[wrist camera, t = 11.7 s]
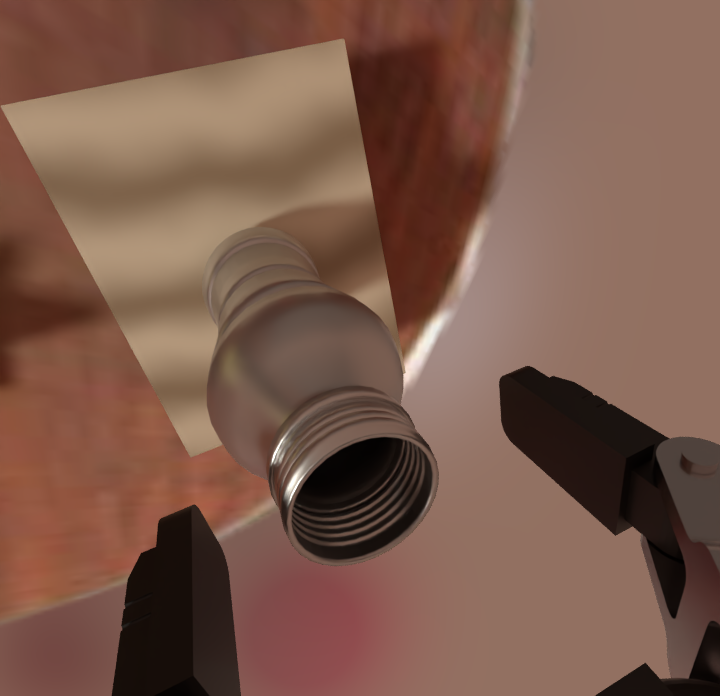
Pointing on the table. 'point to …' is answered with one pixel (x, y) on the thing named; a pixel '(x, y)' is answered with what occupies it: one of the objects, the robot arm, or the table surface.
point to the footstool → (207, 196)
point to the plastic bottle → (313, 401)
